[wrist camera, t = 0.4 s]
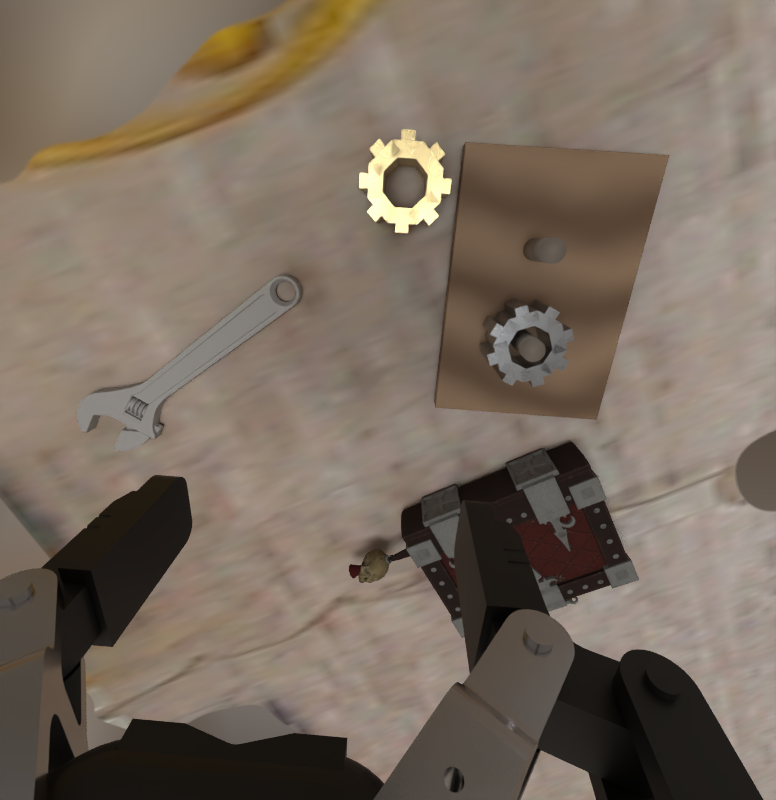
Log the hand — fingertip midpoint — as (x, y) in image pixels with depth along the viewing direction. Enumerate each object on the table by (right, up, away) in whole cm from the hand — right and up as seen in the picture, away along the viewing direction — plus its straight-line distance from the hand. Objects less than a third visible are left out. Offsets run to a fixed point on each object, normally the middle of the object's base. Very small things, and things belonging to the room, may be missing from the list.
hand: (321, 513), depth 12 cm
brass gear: (+3, +19, +19) cm, 27 cm away
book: (+11, -11, +31) cm, 35 cm away
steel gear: (+13, +8, +21) cm, 26 cm away
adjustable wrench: (-16, +6, +26) cm, 31 cm away
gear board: (+14, +12, +21) cm, 28 cm away
